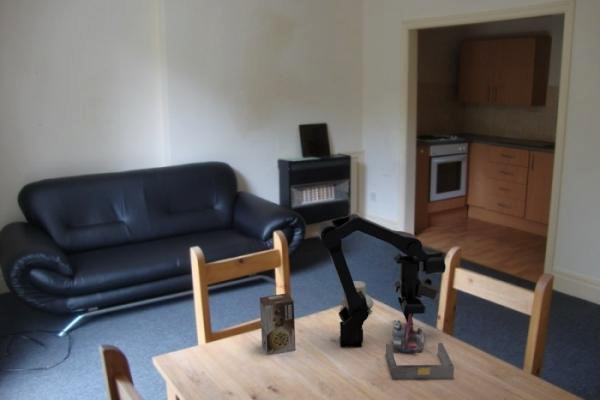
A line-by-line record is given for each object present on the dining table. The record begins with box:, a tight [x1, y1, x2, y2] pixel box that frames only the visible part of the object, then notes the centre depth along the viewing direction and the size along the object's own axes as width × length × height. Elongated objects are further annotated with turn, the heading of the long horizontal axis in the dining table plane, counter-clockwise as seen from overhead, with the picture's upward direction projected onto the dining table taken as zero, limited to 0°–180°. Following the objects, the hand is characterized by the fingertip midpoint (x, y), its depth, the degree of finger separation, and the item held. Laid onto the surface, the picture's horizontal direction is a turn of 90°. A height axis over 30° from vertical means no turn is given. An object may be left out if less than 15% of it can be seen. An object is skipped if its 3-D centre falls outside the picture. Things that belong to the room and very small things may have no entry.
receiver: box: [385, 342, 455, 380], centre depth 158 cm, size 16×14×4 cm
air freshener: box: [340, 280, 374, 312], centre depth 194 cm, size 11×8×10 cm
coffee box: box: [259, 292, 297, 356], centre depth 169 cm, size 9×6×16 cm
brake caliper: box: [390, 314, 426, 353], centre depth 169 cm, size 11×11×12 cm
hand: (408, 322), depth 174 cm, fingers closed
